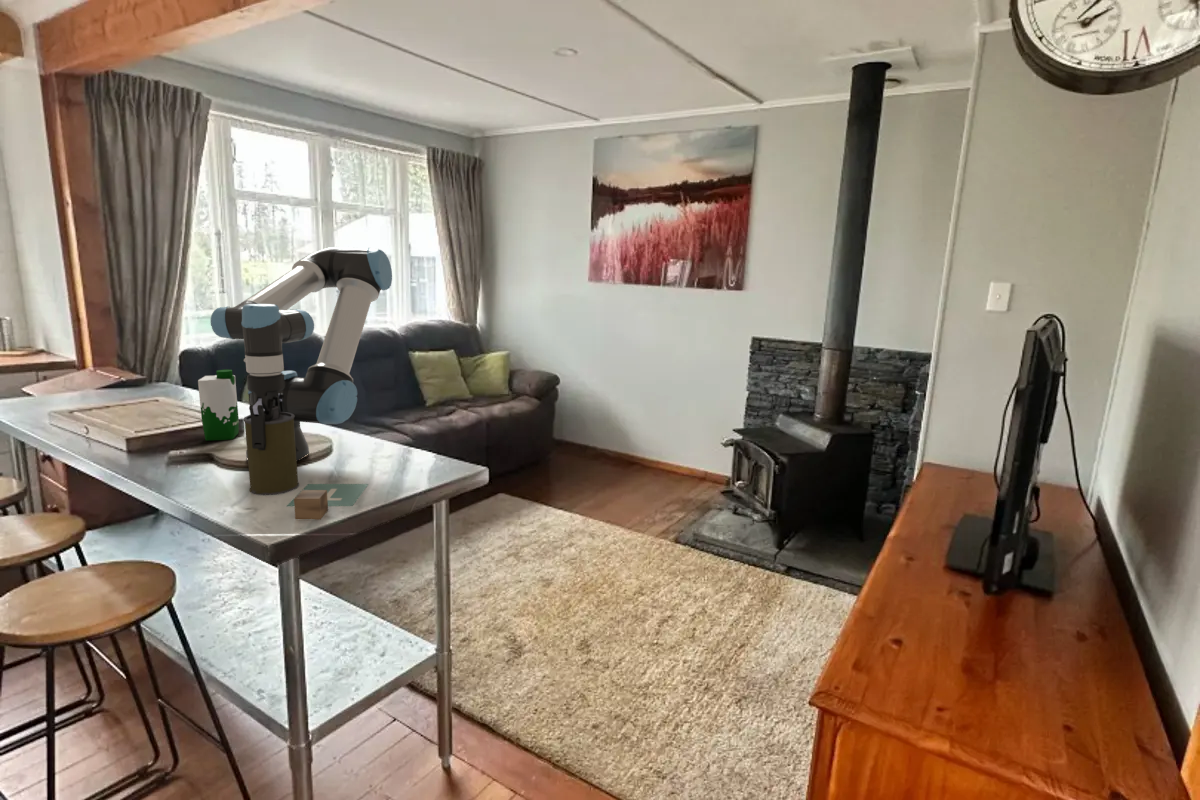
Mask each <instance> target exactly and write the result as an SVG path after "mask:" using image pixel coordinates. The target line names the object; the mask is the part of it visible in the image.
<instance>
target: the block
mask: <svg viewBox="0 0 1200 800" xmlns="http://www.w3.org/2000/svg"><path fill="white" fill-rule="evenodd" d="M293 499H294V506H293V507H294V519H315V520H322V518H323V517H324V516H325V515H326V514H327V512H328V510H329V506H328V500H327V490H303V489H302V490H301V491H299V492H298V493H297V494H296V496H295V497H294V498H293Z"/></svg>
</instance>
